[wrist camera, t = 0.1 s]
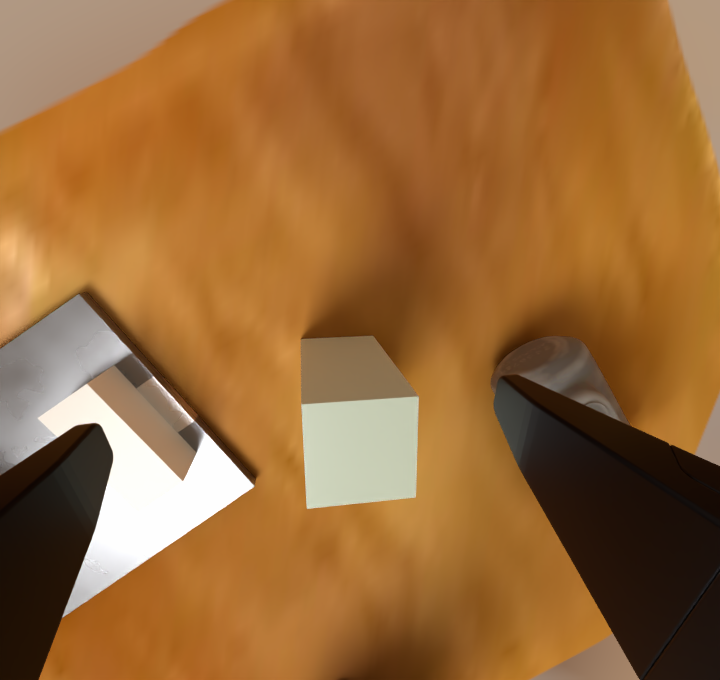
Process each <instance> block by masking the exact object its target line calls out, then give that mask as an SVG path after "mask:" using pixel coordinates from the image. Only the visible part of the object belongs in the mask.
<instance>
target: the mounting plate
mask: <svg viewBox="0 0 720 680" xmlns="http://www.w3.org/2000/svg"><path fill="white" fill-rule="evenodd" d="M113 365H115V367H116V368H117V369H118V370H119V371H120V372H121V373H122V374H123V375H124V376H125V377H126V378H127V379H128V380H129V381H130V382H131V384H132V385H133V386H134V387H135V388H136V389H137V390H138V392H139V393H140V394H141V395H142V396H143V397H144V398H145V399H146V400H147V401H148V402H149V403H150V404H151V405H152V406H153V407H154V409H155V410H156V411H157V412H158V413H159V414H160V415H161V416H162V417H163V418H164V419H165V420H166V421H167V422H168V423H169V424H170V426H171V427H172V428H173V429H174V430H175V431H176V432H177V433H178V434H179V435H180V436H181V437H182V438H183V439H184V440H185V441H186V442H187V443H188V444H189V445H190V446H191V447H192V448H193V449H194V451H195V452H196V453H197V454H196V456H195V458H194V460H193V462H192V465H191V467H190V469H189V471H188V473H187V475H186V477H185V479H184V481H183V482H182V483H181V484H179V485H178V486H177V487H175V488H174V489H172V490H171V491H169V492H168V493H166V494H165V495H163V496H162V497H161V498H159V499H158V500H156V501H155V502H153V503H152V504H150V505H149V506H147V507H146V508H145V509H143V510H142V511H140V512H139V513H138V512H136V511H135V510H134V509H133V508H132V507H131V506H130V505H129V504H128V503H127V502H126V501H125V500H124V499H123V498H122V497H121V496H119V495H118V494H117V493H116V492H115V491H114V490H113V489H112V488H111V487H110V486H109V485H108V484H107V487H106V491H105V495H104V499H103V503H102V507H101V511H100V515H99V518H98V522H97V525H96V529H95V532H94V534H93V537H92V540H91V543H90V545H89V548H88V551H87V553H86V556H85V559H84V561H83V564H82V566H81V569H80V572H79V574H78V577H77V580H76V582H75V585H74V588H73V590H72V593H71V595H70V598H69V601H68V603H67V606H66V609H65V611H64V614H63V617H64V616H65V615H67V614H68V613H70V612H71V611H73V610H74V609H76V608H77V607H79V606H80V605H82V604H83V603H85V602H86V601H87V600H89V599H90V598H92V597H93V596H95V595H96V594H98V593H99V592H101V591H102V590H104V589H105V588H106V587H108V586H109V585H111V584H112V583H114V582H115V581H117V580H118V579H120V578H121V577H123V576H124V575H125V574H127V573H128V572H130V571H131V570H133V569H134V568H136V567H137V566H139V565H140V564H142V563H143V562H145V561H146V560H147V559H149V558H150V557H152V556H153V555H155V554H156V553H158V552H159V551H161V550H162V549H164V548H165V547H166V546H168V545H169V544H171V543H172V542H174V541H175V540H177V539H178V538H180V537H181V536H183V535H184V534H186V533H187V532H188V531H190V530H191V529H193V528H194V527H196V526H197V525H199V524H200V523H202V522H203V521H205V520H206V519H207V518H209V517H210V516H212V515H213V514H215V513H216V512H218V511H219V510H221V509H222V508H224V507H225V506H227V505H228V504H229V503H231V502H232V501H234V500H235V499H237V498H238V497H240V496H241V495H243V494H244V493H246V492H247V491H248V490H250V489H251V488H253V487H254V486H255V481H256V479H255V478H254V477H253V475H252V474H251V473H250V472H249V471H248V470H247V469H246V468H245V467H244V465H243V464H242V463H241V462H240V461H239V460H238V459H237V458H236V457H235V456H234V454H233V453H232V452H231V451H230V450H229V449H228V448H227V447H226V446H225V445H224V443H223V442H222V441H221V440H220V439H219V438H218V437H217V436H216V435H215V433H214V432H213V431H212V430H211V429H210V428H209V427H208V426H207V425H206V424H205V422H204V421H203V420H202V419H201V418H200V417H199V416H198V415H197V414H196V412H195V411H194V410H193V409H192V408H191V407H190V406H189V405H188V404H187V403H186V401H185V400H184V399H183V398H182V397H181V396H180V395H179V394H178V393H177V391H176V390H175V389H174V388H173V387H172V386H171V385H170V384H169V383H168V382H167V380H166V379H165V378H164V377H163V376H162V375H161V374H160V373H159V372H158V370H157V369H156V368H155V367H154V366H153V365H152V364H151V363H150V362H149V361H148V359H147V358H146V357H145V356H144V355H143V354H142V353H141V352H140V351H139V349H138V348H137V347H136V346H135V345H134V344H133V343H132V342H131V341H130V340H129V338H128V337H127V336H126V335H125V334H124V333H123V332H122V331H121V330H120V328H119V327H118V326H117V325H116V324H115V323H114V322H113V321H112V320H111V319H110V317H109V316H108V315H107V314H106V313H105V312H104V311H103V310H102V309H101V307H100V306H99V305H98V304H97V303H96V302H95V301H94V300H93V299H92V298H91V296H90V295H89V294H88V293H87V292H84V293H80V294H78V295H76V296H75V297H74V298H72V299H71V300H69V301H68V302H67V303H65V304H64V305H62V306H61V307H59V308H58V309H57V310H55V311H54V312H52V313H51V314H49V315H48V316H47V317H45V318H44V319H42V320H41V321H39V322H38V323H37V324H35V325H34V326H32V327H31V328H30V329H28V330H27V331H25V332H24V333H22V334H21V335H20V336H18V337H17V338H15V339H14V340H12V341H11V342H10V343H8V344H7V345H5V346H4V347H3V348H1V349H0V475H1V474H3V473H4V472H6V471H7V470H9V469H10V468H12V467H13V466H15V465H17V464H18V463H20V462H21V461H23V460H24V459H26V458H27V457H29V456H30V455H32V454H33V453H35V452H36V451H38V450H39V449H41V448H42V447H44V446H45V445H47V444H48V443H50V442H51V441H53V440H54V439H56V438H57V436H56V435H55V434H53V433H52V432H51V431H50V430H49V429H48V428H47V427H46V426H45V425H44V424H43V423H42V422H41V421H40V420H39V419H37V418H38V417H40V416H41V415H43V414H44V413H46V412H47V411H48V410H50V409H51V408H53V407H54V406H56V405H57V404H58V403H60V402H61V401H63V400H64V399H66V398H67V397H69V396H70V395H71V394H73V393H74V392H76V391H77V390H79V389H80V388H81V387H83V386H84V385H86V384H87V383H89V382H90V381H92V380H93V379H94V378H96V377H97V376H99V375H100V374H102V373H103V372H105V371H106V370H108V369H109V368H110V367H112V366H113ZM63 617H62V618H63Z"/></svg>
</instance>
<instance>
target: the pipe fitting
mask: <svg viewBox="0 0 720 680" xmlns="http://www.w3.org/2000/svg"><path fill="white" fill-rule="evenodd" d="M510 374H518V375H520V376H522V377H525V378H527V379H529V380H531V381H533V382H535V383H538V384H540V385H542V386H544V387H546V388H549V389H551V390H553V391H555V392H557V393H560V394H562V395H564V396H566V397H568V398H570V399H573V400H575V401H577V402H579V403H581V404H584V405H586V406H588V407H590V408H592V409H595V410H597V411H599V412H601V413H603V414H606V415H608V416H610V417H612V418H614V419H616V420H619V421H621V422H623V423H625V424H627V425H630V424H629V422H628V420H627V419H626V417H625V415H624V413H623V411H622V409H621V408H620V406H619V404H618V402H617V400H616V398H615V396H614V395H613V393H612V391H611V389H610V387H609V385H608V384H607V382H606V380H605V378H604V376H603V374H602V372H601V371H600V369H599V367H598V365H597V363H596V361H595V360H594V358H593V356H592V355H591V353H590V351H589V350H588V348H587V347H586V345H585V344H584V343H583V342H582V341H581V340H579V339H577V338H573V337H566V336H548V337H543V338H539V339H536V340H533V341H530V342H528V343H526V344H524V345H522V346H520V347H518V348H517V349H515V350H514V351H512V352H511V353H509V354H508V355H507V356H506V357H505V358H504V359H503V360H502V361H501V362H500V363H499V365H498V366H497V368H496V369H495V371H494V373H493V375H492V377H491V388H492V390H493V392H494V394H495V392H496V386H497V381H498V378H499V377H500V376H502V375H510Z"/></svg>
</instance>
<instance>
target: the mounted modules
mask: <svg viewBox="0 0 720 680" xmlns="http://www.w3.org/2000/svg"><path fill="white" fill-rule="evenodd" d="M37 419H39V420H40V421H41V422H42V423H43V424H44V425H45V426H46V427H47V428H48V429H49V430H50V431H51V432H52V433H53V434H55V435H56V436H57V437H59V436H60V435H62V434H63V433H65V432H66V431H68V430H69V429H71V428H72V427H74V426H76V425H80V424H89V423H98V424H100V425H101V427H102V428H103V430H104V433H105V435H106V437H107V439H108V442H109V444H110V446H111V448H112V451H113V464H112V468H111V472H110V476H109V480H108V483H107V484H108V485H109V486H110V487H111V488H112V489H113V490H114V491H115V492H116V493H117V494H118V495H119V496H121V497H122V498H123V499H124V500H125V501H126V502H127V503H128V504H129V505H130V506H131V507H132V508H133V509H134V510H135V511H136V512H138V513H139V512H140V511H142V510H143V509H145V508H146V507H147V506H149V505H150V504H152V503H153V502H155V501H156V500H158V499H159V498H161V497H162V496H163V495H165V494H166V493H168V492H169V491H171V490H172V489H174V488H175V487H177V486H178V485H179V484H181V483H182V482H183V481H184V479H185V477H186V475H187V473H188V471H189V469H190V467H191V465H192V462H193V460H194V458H195V456H196V454H197V453H196V452H195V451H194V449H193V448H192V447H191V446H190V445H189V444H188V443H187V442H186V441H185V440H184V439H183V438H182V437H181V436H180V435H179V434H178V433H177V432H176V431H175V430H174V429H173V428H172V427H171V426H170V424H169V423H168V422H167V421H166V420H165V419H164V418H163V417H162V416H161V415H160V414H159V413H158V412H157V411H156V410H155V409H154V407H153V406H152V405H151V404H150V403H149V402H148V401H147V400H146V399H145V398H144V397H143V396H142V395H141V394H140V393H139V392H138V390H137V389H136V388H135V387H134V386H133V385H132V384H131V382H130V381H129V380H128V379H127V378H126V377H125V376H124V375H123V374H122V373H121V372H120V371H119V370H118V369H117V368H116V367H115V365H113V366H112V367H110V368H109V369H108V370H106V371H105V372H103V373H102V374H100V375H99V376H97V377H96V378H94V379H93V380H92V381H90V382H89V383H87V384H86V385H84V386H83V387H81V388H80V389H79V390H77V391H76V392H74V393H73V394H71V395H70V396H69V397H67V398H66V399H64V400H63V401H61V402H60V403H58V404H57V405H56V406H54V407H53V408H51V409H50V410H48V411H47V412H46V413H44V414H43V415H41V416H40V417H38V418H37Z"/></svg>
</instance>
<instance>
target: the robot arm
mask: <svg viewBox="0 0 720 680" xmlns="http://www.w3.org/2000/svg"><path fill="white" fill-rule="evenodd" d="M494 411H495V414H496V416H497V419H498V421H499V423H500V425H501V428H502V430H503V432H504V435H505V437H506V439H507V442H508V444H509V446H510V449H511V451H512V453H513V456H514V458H515V460H516V462H517V464H518V466H519V468H520V470H521V472H522V474H523V476H524V477H525V479H526V481H527V483H528V485H529V486H530V488H531V490H532V492H533V493H534V495H535V497H536V499H537V500H538V502H539V504H540V506H541V507H542V509H543V511H544V513H545V514H546V516H547V518H548V520H549V521H550V523H551V525H552V527H553V529H554V530H555V532H556V534H557V536H558V537H559V539H560V541H561V543H562V544H563V546H564V548H565V550H566V551H567V553H568V555H569V557H570V558H571V560H572V562H573V564H574V565H575V567H576V569H577V571H578V572H579V574H580V576H581V578H582V580H583V581H584V583H585V585H586V587H587V588H588V590H589V592H590V594H591V595H592V597H593V599H594V601H595V602H596V604H597V606H598V608H599V609H600V611H601V613H602V615H603V616H604V618H605V620H606V622H607V623H608V625H609V627H610V629H611V631H612V632H613V634H614V636H615V637H616V639H617V641H618V643H619V644H620V646H621V648H622V650H623V651H624V653H625V655H626V657H627V659H628V660H629V662H630V664H631V666H632V667H633V669H634V671H635V673H636V675H637V676H638V678H639V679H640V680H720V466H718V465H716V464H713V463H711V462H709V461H707V460H704V459H702V458H700V457H698V456H695V455H693V454H691V453H689V452H687V451H684V450H682V449H680V448H678V447H676V446H674V445H671V446H670V445H669V444H668V443H667V442H665V441H662V440H660V439H658V438H656V437H654V436H652V435H649V434H647V433H645V432H643V431H641V430H638V429H636V428H634V427H632V426H630V425H627V424H625V423H623V422H621V421H619V420H616V419H614V418H612V417H610V416H608V415H606V414H603V413H601V412H599V411H597V410H595V409H592V408H590V407H588V406H586V405H584V404H581V403H579V402H577V401H575V400H573V399H570V398H568V397H566V396H564V395H562V394H560V393H557V392H555V391H553V390H551V389H549V388H546V387H544V386H542V385H540V384H538V383H535V382H533V381H531V380H529V379H527V378H525V377H522V376H520V375H518V374H510V375H502V376H500V377H499V378H498V381H497V386H496V392H495V398H494ZM112 464H113V451H112V448H111V446H110V444H109V442H108V439H107V437H106V435H105V433H104V430H103V428H102V427H101V425H100V424H98V423H89V424H80V425H76V426H74V427H72V428H71V429H69V430H68V431H66V432H65V433H63V434H62V435H60V436H59V437H57V438H56V439H54V440H53V441H51V442H50V443H48V444H47V445H45V446H44V447H42V448H41V449H39V450H38V451H36V452H35V453H33V454H32V455H30V456H29V457H27V458H26V459H24V460H23V461H21V462H20V463H18V464H17V465H15V466H13V467H12V468H10V469H9V470H7V471H6V472H4V473H3V474H1V475H0V680H39V677H40V674H41V672H42V669H43V667H44V664H45V661H46V659H47V656H48V653H49V651H50V648H51V645H52V643H53V640H54V638H55V635H56V632H57V630H58V627H59V624H60V622H61V619H62V617H63V614H64V611H65V609H66V606H67V603H68V601H69V598H70V595H71V593H72V590H73V588H74V585H75V582H76V580H77V577H78V574H79V572H80V569H81V566H82V564H83V561H84V559H85V556H86V553H87V551H88V548H89V545H90V543H91V540H92V537H93V534H94V532H95V529H96V525H97V522H98V518H99V515H100V511H101V507H102V503H103V499H104V495H105V491H106V487H107V483H108V480H109V476H110V472H111V468H112Z"/></svg>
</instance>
